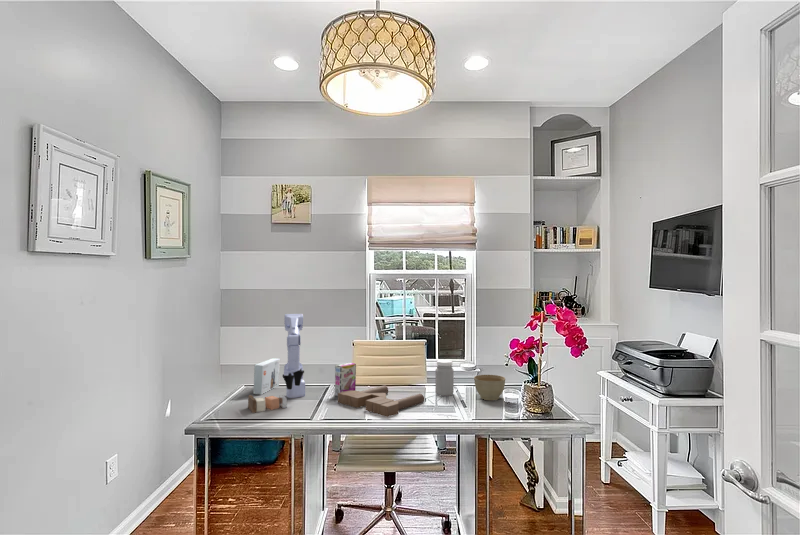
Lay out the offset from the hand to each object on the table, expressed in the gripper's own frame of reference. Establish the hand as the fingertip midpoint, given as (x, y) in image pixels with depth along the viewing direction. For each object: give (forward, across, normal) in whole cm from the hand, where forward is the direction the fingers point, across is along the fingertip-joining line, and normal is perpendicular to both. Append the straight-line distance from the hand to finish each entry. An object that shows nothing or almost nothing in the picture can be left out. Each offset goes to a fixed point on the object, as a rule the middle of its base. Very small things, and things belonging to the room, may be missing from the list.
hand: (293, 387), depth 228 cm
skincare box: (+10, -24, -31) cm, 40 cm away
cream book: (+9, +12, -11) cm, 18 cm away
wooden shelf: (+9, +8, -8) cm, 15 cm away
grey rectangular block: (+8, +4, -4) cm, 10 cm away
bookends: (+10, -19, +40) cm, 45 cm away
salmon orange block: (+9, +7, -7) cm, 14 cm away
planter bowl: (+10, -44, +90) cm, 101 cm away
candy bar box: (+10, -28, +15) cm, 33 cm away
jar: (+10, -45, +66) cm, 80 cm away
